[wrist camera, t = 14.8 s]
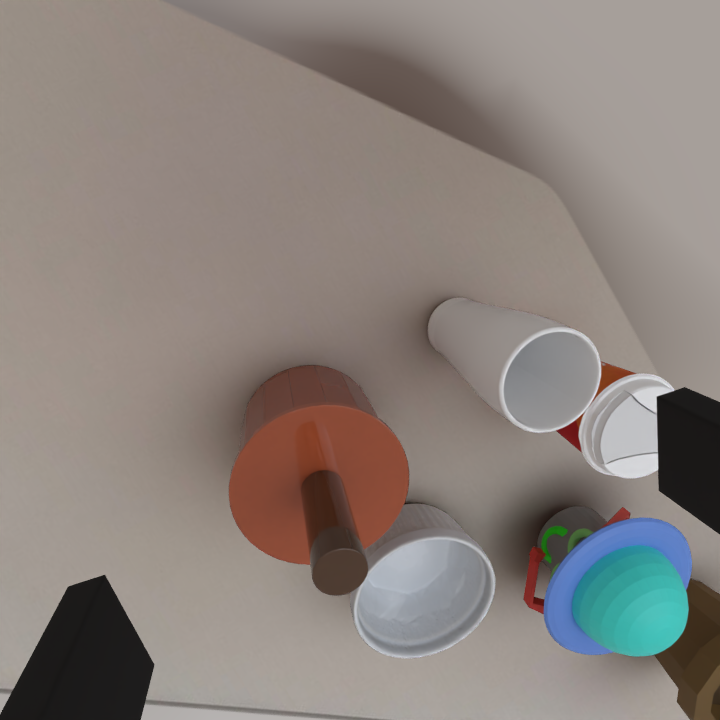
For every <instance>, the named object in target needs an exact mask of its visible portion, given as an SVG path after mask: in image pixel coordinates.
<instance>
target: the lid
mask: <svg viewBox="0 0 720 720" xmlns="http://www.w3.org/2000/svg"><path fill="white" fill-rule="evenodd" d="M408 486H409V468H408V461H407V458H406V455H405V452H404V450H403V448H402V445H401V443H400V442H399V440H398V439H397V437H396V436H395V434H394V433H393V431H392V430H391V429H390V428H389V427H388V426H387V425H386V424H385V423H384V422H383V421H382V420H380V419H379V418H378V417H376V416H375V415H373V414H371V413H370V412H368V411H366V410H363V409H361V408H359V407H356V406H352V405H349V404H344V403H337V402H317V403H309V404H305V405H300V406H297V407H294V408H291V409H288V410H286V411H284V412H282V413H280V414H278V415H276V416H274V417H272V418H271V419H269V420H268V421H266V422H265V423H264V424H262V425H261V426H260V427H259V428H258V429H257V430H255V431H254V433H253V434H252V435H251V436H250V437H249V438H248V439H247V440H246V442H245V443H244V445H243V446H242V448H241V449H240V451H239V453H238V455H237V457H236V459H235V462H234V464H233V467H232V470H231V476H230V482H229V501H230V508H231V511H232V514H233V517H234V519H235V522H236V524H237V526H238V527H239V529H240V530H241V532H242V533H243V535H244V536H245V537H246V538H247V539H248V540H249V541H250V542H251V543H252V544H253V545H254V546H256V547H257V548H258V549H259V550H261V551H263V552H264V553H266V554H268V555H270V556H272V557H274V558H277V559H279V560H283V561H286V562H290V563H296V564H307V565H311V573H312V579H313V582H314V584H315V586H316V587H317V588H318V589H319V590H320V591H321V592H323V593H325V594H328V595H335V596H337V595H344V594H348V593H350V592H352V591H354V590H355V589H357V588H358V587H359V586H360V585H361V584H362V583H363V582H364V580H365V579H366V577H367V574H368V562H367V558H366V555H365V552H364V549H366V548H367V547H369V546H371V545H372V544H373V543H375V542H376V541H377V540H378V539H379V538H381V537H382V536H383V535H384V534H385V533H386V532H387V531H388V529H389V528H390V527H391V526H392V524H393V523H394V522H395V520H396V519H397V517H398V515H399V514H400V512H401V510H402V507H403V505H404V503H405V499H406V496H407V492H408Z"/></svg>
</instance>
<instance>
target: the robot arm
mask: <svg viewBox="0 0 720 720" xmlns="http://www.w3.org/2000/svg"><path fill="white" fill-rule="evenodd" d="M657 438H658V479H659V491H660V492H661V493H663V494H664V495H666V496H667V497H668V498H670V499H671V500H673V501H674V502H675V503H677V504H678V505H680V506H681V507H682V508H684V509H685V510H687V511H688V512H689V513H691V514H692V515H693V516H695V517H696V518H698V519H699V520H700V521H702V522H703V523H705V524H706V525H707V526H709V527H710V528H712V529H713V530H714V531H716V532H717V533H719V534H720V402H718V401H716V400H713V399H711V398H709V397H706V396H704V395H702V394H699V393H697V392H695V391H692V390H690V389H687V388H685V387H684V388H681V389H679V390H676V391H672V392H669V393H666V394H663V395H660V396H657ZM153 668H154V663H153V661H152V660H151V658H150V656H149V654H148V652H147V650H146V649H145V647H144V645H143V643H142V641H141V640H140V638H139V636H138V634H137V632H136V630H135V629H134V627H133V625H132V623H131V621H130V620H129V618H128V616H127V614H126V612H125V611H124V609H123V607H122V605H121V603H120V601H119V600H118V598H117V596H116V594H115V592H114V591H113V589H112V587H111V585H110V583H109V581H108V580H107V578H106V576H105V575H103V576H100V577H97V578H93V579H90V580H87V581H84V582H81V583H78V584H75V585H72V586H69V587H68V588H67V590H66V592H65V594H64V596H63V597H62V599H61V601H60V603H59V605H58V607H57V609H56V611H55V612H54V614H53V616H52V618H51V620H50V622H49V624H48V626H47V627H46V629H45V631H44V633H43V635H42V637H41V639H40V641H39V642H38V644H37V646H36V648H35V650H34V652H33V654H32V656H31V657H30V659H29V661H28V663H27V665H26V667H25V669H24V671H23V672H22V674H21V676H20V678H19V680H18V682H17V684H16V686H15V688H14V689H13V691H12V693H11V695H10V697H9V699H8V701H7V703H6V704H5V706H4V708H3V710H2V712H1V714H0V720H141V716H142V712H143V708H144V704H145V700H146V696H147V692H148V688H149V684H150V680H151V676H152V672H153Z"/></svg>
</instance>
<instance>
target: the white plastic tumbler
mask: <svg viewBox="0 0 720 720" xmlns="http://www.w3.org/2000/svg"><path fill="white" fill-rule="evenodd" d="M428 337H429V340H430V343H431V344H432V346H433V347H434V349H435V350H436V351H437V352H438V353H440V354H441V355H442V356H443V357H444V358H445V359H446V360H447V361H448V362H449V363H450V364H451V365H452V367H453V368H454V369H455V370H456V371H457V372H458V373H459V374H460V376H461V377H462V378H463V379H464V380H465V381H466V382H467V383H468V385H469V386H470V387H471V388H472V389H473V390H474V391H475V392H476V394H477V395H478V396H479V397H480V398H481V399H482V400H484V401H485V402H486V403H487V404H488V405H489V406H490V407H491V408H492V409H494V410H495V411H496V412H497V413H499V414H500V415H502V416H503V417H504V418H506V419H507V420H508V421H510V422H511V423H513V424H514V425H515V426H517V427H519V428H520V429H523V430H525V431H528V432H533V433H547V432H552V431H556V430H559V429H561V428H564V427H565V426H567V425H569V424H571V423H572V422H574V421H575V420H576V419H577V418H579V417H580V416H581V415H582V414H583V413H584V412H585V411H586V409H587V408H588V407H589V405H590V404H591V402H592V401H593V399H594V397H595V395H596V393H597V390H598V387H599V384H600V379H601V361H600V357H599V354H598V351H597V349H596V347H595V345H594V344H593V342H592V341H591V340H590V339H589V338H588V337H587V336H586V335H584V334H583V333H581V332H579V331H578V330H575V329H573V328H571V327H569V326H566V325H564V324H562V323H559V322H557V321H554V320H552V319H549V318H546V317H543V316H540V315H537V314H533V313H529V312H525V311H520V310H515V309H510V308H504V307H499V306H494V305H489V304H485V303H480V302H476V301H473V300H470V299H467V298H461V297H458V298H452V299H449V300H446V301H444V302H443V303H441V304H440V305H439V306H438V307H437V308H436V309H435V310H434V311H433V313H432V315H431V317H430V319H429V323H428Z"/></svg>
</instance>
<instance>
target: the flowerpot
mask: <svg viewBox="0 0 720 720" xmlns="http://www.w3.org/2000/svg"><path fill="white" fill-rule="evenodd" d="M686 592H687V598H688V607H689V611H688V618H687V623H686V626H685V629H684V631H683V633H682V634H681V636H680V637H679V638H678V640H677V641H676V642H675V643H674V644H673V645H671V646H670V647H669V648H667V649H666V650H664V651H662V652H660V653H658V654H654V655H655V657H656V658H657V660H658V661H659V662H660V664H661V665H662V666H663V668H664V669H665V671H666V672H667V673H668V675H669V676H670V677H671V679H672V680H673V682H674V683H675V684H676V686H677V687H678V689H679V690H678V698H677V703H678V704H679V705H680V707H681V708H682V710H683V711H684V712H685V714H686V715H687V716H688V718H689V719H690V720H720V594H718V593H716V592H715V591H713V590H712V589H710V588H709V587H707V586H706V585H704V584H703V583H701V582H699V581H695V580H692V579H690V580H689V584H688V587H687V589H686Z"/></svg>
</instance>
